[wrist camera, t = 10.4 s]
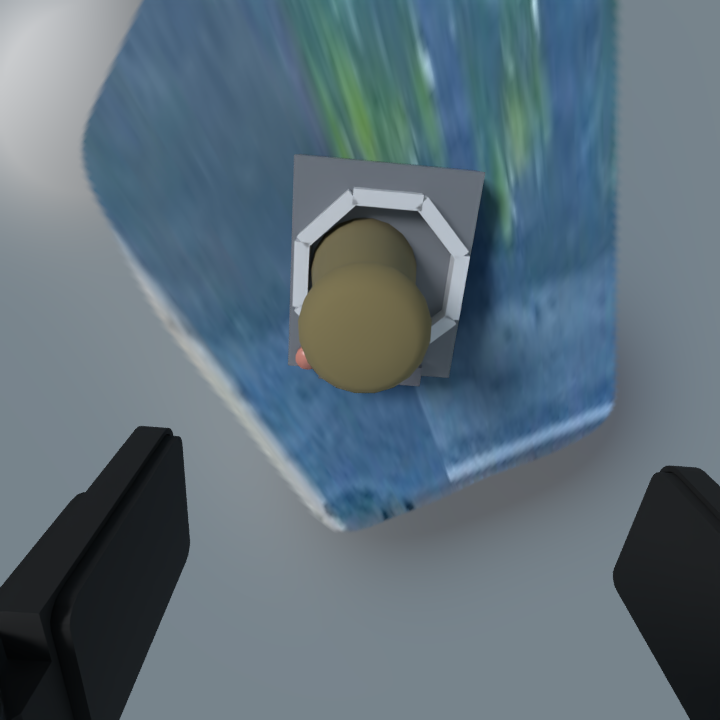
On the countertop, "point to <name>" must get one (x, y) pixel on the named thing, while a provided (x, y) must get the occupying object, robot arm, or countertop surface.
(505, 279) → the countertop surface
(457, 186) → the octagon ring plate
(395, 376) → the cork
